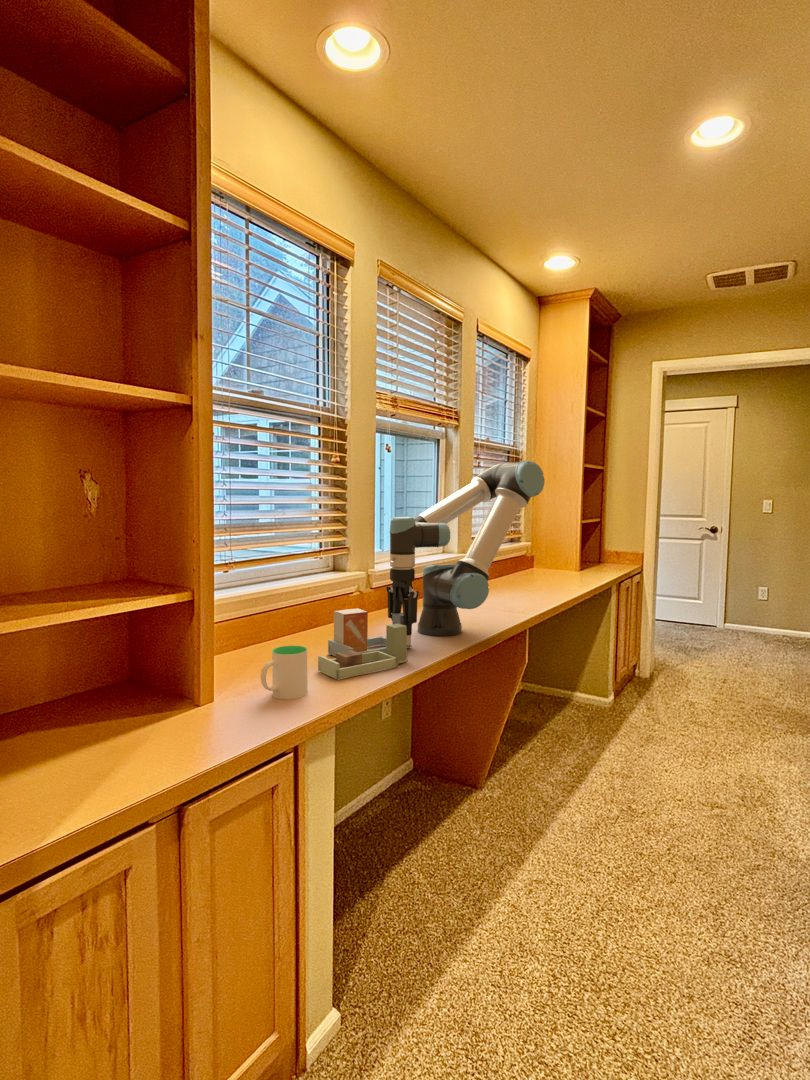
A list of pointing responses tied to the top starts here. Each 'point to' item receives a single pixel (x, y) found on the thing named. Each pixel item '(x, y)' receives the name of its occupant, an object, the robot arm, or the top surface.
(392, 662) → the tray
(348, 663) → the walnut block
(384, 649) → the tray
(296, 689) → the mug
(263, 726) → the top surface
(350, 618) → the small box
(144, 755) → the top surface
